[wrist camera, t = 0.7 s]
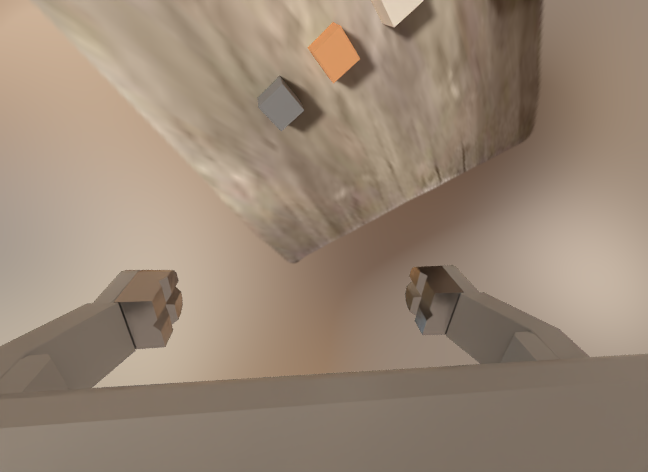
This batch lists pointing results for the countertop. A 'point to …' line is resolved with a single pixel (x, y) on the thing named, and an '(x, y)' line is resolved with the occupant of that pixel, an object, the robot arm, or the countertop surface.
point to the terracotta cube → (334, 52)
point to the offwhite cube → (394, 10)
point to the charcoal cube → (280, 104)
